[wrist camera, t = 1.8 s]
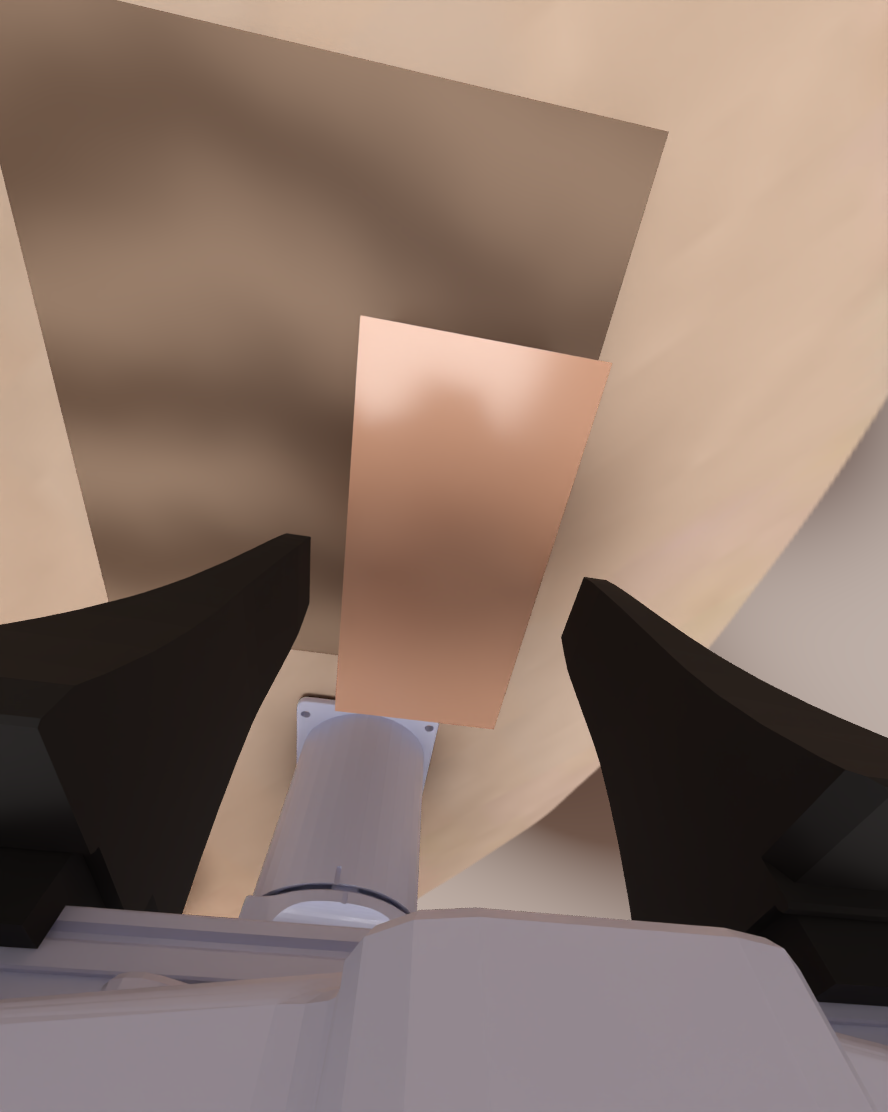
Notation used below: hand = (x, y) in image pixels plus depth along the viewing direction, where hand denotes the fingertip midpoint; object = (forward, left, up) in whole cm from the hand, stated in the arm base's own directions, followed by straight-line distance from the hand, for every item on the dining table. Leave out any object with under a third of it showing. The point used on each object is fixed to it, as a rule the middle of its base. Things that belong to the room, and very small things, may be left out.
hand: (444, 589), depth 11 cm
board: (+1, +5, -8) cm, 9 cm away
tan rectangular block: (0, 0, -7) cm, 7 cm away
